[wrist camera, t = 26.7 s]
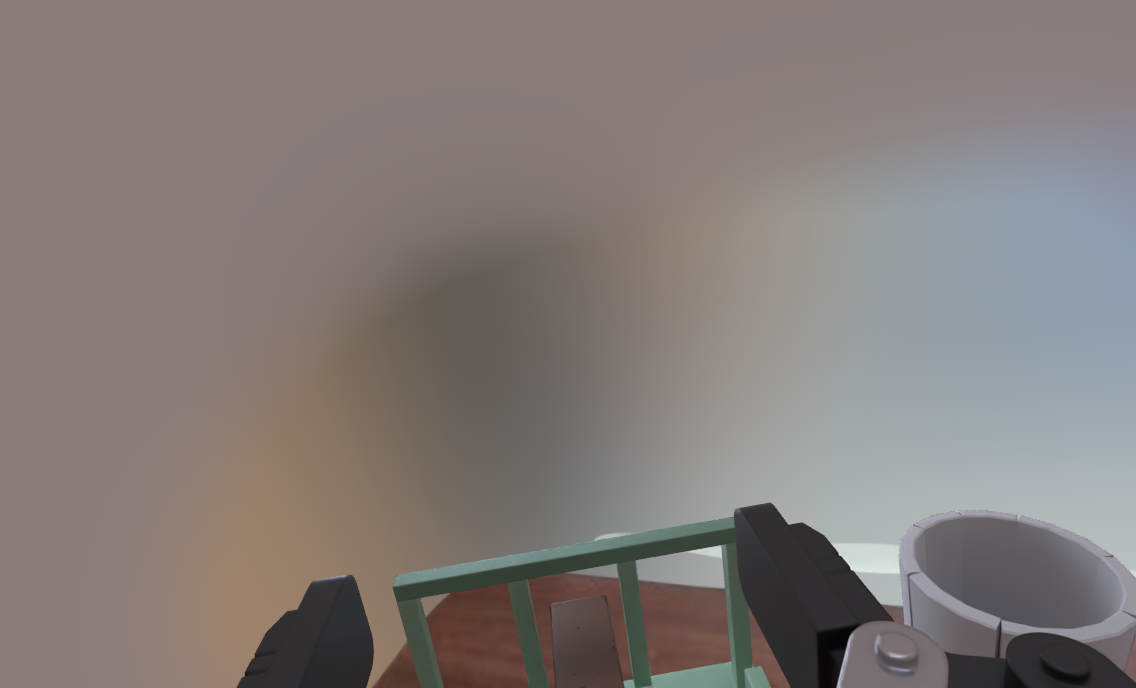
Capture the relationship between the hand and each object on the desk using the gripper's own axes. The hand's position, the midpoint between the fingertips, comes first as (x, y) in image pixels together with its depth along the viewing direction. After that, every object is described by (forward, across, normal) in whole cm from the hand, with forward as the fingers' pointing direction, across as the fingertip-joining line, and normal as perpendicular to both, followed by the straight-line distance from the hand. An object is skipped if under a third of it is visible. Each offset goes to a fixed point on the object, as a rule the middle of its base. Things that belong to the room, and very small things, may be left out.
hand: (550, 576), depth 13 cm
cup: (+10, -20, +24) cm, 33 cm away
